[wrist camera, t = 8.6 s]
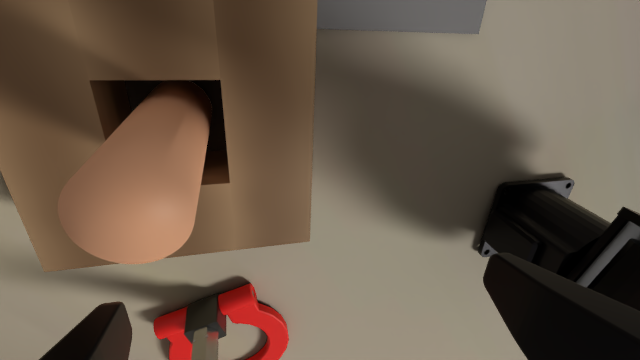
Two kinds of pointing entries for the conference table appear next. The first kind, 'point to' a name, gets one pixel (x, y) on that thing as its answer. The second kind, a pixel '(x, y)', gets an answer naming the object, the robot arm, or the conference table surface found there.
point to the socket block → (161, 64)
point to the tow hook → (220, 325)
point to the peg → (142, 179)
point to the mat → (402, 15)
